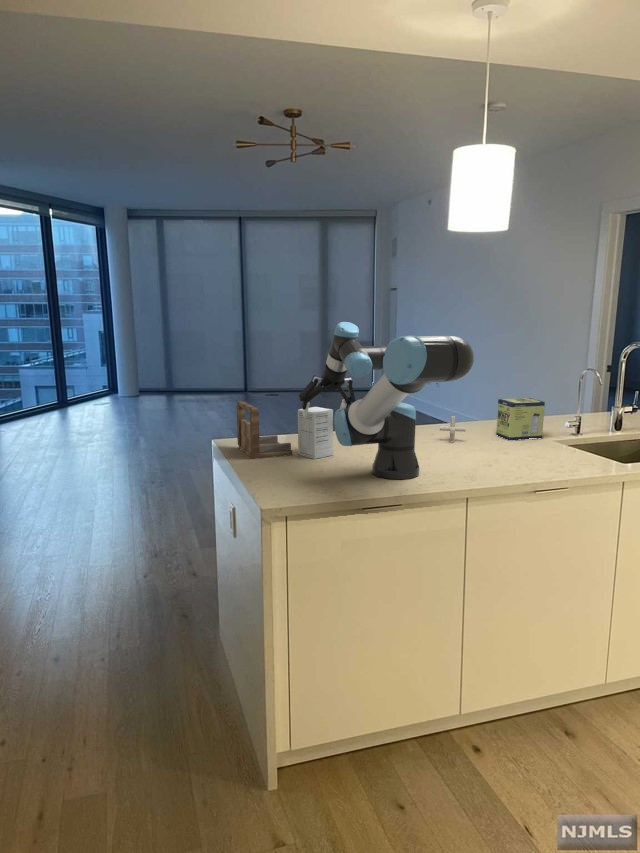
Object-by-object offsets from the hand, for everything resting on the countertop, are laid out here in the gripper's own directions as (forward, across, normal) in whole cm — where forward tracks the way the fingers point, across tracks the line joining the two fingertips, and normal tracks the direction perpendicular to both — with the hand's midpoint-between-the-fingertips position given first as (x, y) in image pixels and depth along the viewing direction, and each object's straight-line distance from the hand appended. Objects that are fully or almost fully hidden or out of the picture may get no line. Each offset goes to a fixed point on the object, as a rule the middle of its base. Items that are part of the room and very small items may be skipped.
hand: (322, 416), depth 211 cm
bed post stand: (+21, +16, -5) cm, 27 cm away
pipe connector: (+13, -59, -1) cm, 60 cm away
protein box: (+10, -89, 0) cm, 89 cm away
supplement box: (+15, 0, +4) cm, 16 cm away
